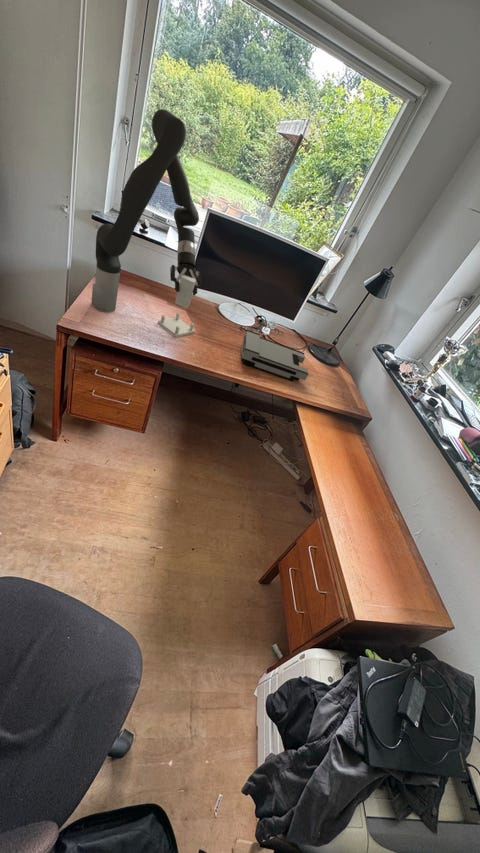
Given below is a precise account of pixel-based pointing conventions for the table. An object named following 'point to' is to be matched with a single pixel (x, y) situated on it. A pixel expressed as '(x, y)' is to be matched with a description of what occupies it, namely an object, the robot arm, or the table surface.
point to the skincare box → (185, 291)
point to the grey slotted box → (272, 357)
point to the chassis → (176, 326)
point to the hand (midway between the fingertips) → (186, 293)
